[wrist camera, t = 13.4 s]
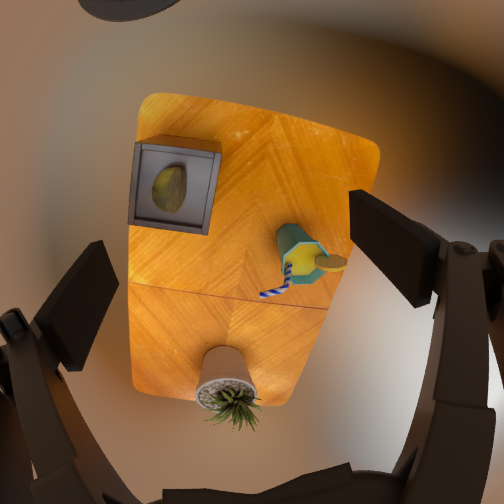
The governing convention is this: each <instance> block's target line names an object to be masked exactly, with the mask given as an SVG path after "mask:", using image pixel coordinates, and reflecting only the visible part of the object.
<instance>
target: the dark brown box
mask: <svg viewBox="0 0 504 504" xmlns="http://www.w3.org/2000/svg"><path fill="white" fill-rule="evenodd" d="M221 157H222V150H221V143H219V142H213V141H206V140H200V139H193V138H185V137H177V136H169V135H156V136H153V137H150V138H147V139H144V140H141V141H138V142H135V148H134V156H133V165H132V175H131V185H130V197H129V212H128V224H129V225H135V226H143V227H150V228H157V229H165V230H172V231H179V232H186V233H194V234H201V235H208V231H209V225H210V219H211V213H212V207H213V201H214V195H215V190H216V184H217V179H218V173H219V168H220V162H221ZM173 167H179V168H181V169H183V170H184V171H185V172H184V173H185V175H186V196H185V198H184V202H183V204H182V206H181V207H180V209H179V210H178V211H177V212H176V213H169V212H165V211H163V210H161V209H159V208H158V207H157V206H156V205H155V204H154V202H153V199H152V190H151V188H152V186H153V184H154V180H155V178H156V176H157V175H158V174H159V173H160V172H161V171H162V170H164V169H167V168H173Z"/></svg>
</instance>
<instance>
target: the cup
mask: <svg viewBox="0 0 504 504" xmlns="http://www.w3.org/2000/svg"><path fill="white" fill-rule="evenodd" d="M276 243H277V247H278V251H279V256H280V260H281V264H282V267H281V272H282V274H283V275H284V276H285V279H284V284H283V285H282V286H281V287H279V288H275V289H271V290H268V291H264V292H260V298H264V297H268V296H272V295H277V294H281V293H283V292H284V291H286V290H287V288H288V287H289V281H290V282H291V283H292V284H293V285H300V284H312V283H314V282H315V281H316V280H317V279H319V278H320V277H321V276H322V275H323V274H325V273H326V271H329V272H338V271H341V270H344V269H346V267H347V259H345V258H343V257H341V256H339V255H332V254H328V253H327V251H326V250H325V249H324V248H323V247H322V246H321V244H320V243H319V242H318V241H317V240H313V239H312V238H311V237H310V236H309V235H308V234H307V233H306V232H305V231H304V230H303V229H302V228H301V227H299V226H298V225H297V224H285V225H284V226H283V227H281V228H280V229H279V230H278V231H277V238H276Z"/></svg>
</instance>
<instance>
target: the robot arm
mask: <svg viewBox="0 0 504 504" xmlns="http://www.w3.org/2000/svg"><path fill="white" fill-rule="evenodd" d="M119 1H125V0H119ZM349 208H350V239H351V240H352V241H353V242H354V243H355V244H356V245H357V246H358V247H359V248H360V249H361V250H362V251H363V252H364V253H365V254H366V256H367V257H368V258H370V260H371V261H372V262H373V263H374V264H375V265H376V266H377V267H378V268H379V269H380V270H381V271H382V272H383V274H385V276H386V277H387V278H388V279H389V280H390V281H391V282H392V283H393V284H394V286H395V287H396V288H397V289H398V290H399V291H400V292H401V293H402V294H403V296H404V297H405V298H406V299H407V300H408V301H409V302H410V304H411V305H412V306H413V307H414V308H418V307H421V306H424V305H427V304H429V303H430V300H431V295H432V291H434V292H435V293H436V294H437V295H438V299H437V303H436V307H435V311H434V315H433V319H434V326H433V333H432V339H431V345H430V350H429V356H428V361H427V366H426V370H425V375H424V379H423V384H422V388H421V392H420V396H419V399H418V403H417V407H416V410H415V414H414V417H413V420H412V424H411V427H410V430H409V433H408V436H407V439H406V442H405V445H404V448H403V450H402V453H401V455H400V457H399V459H398V461H397V463H396V465H395V467H394V469H393V471H392V473H391V474H390V473H385V472H380V471H370V470H366V471H365V470H363V471H362V470H359V471H352V469H351V466H350V463H349V462H348V463H345V464H342V465H338V466H334V467H331V468H328V469H324V470H320V471H316V472H312V473H308V474H304V475H301V476H299V477H297V478H295V479H293V480H290V481H288V482H286V483H284V484H281V485H279V486H276V487H274V488H272V489H269V490H266V491H264V492H261V493H258V494H243V493H234V492H226V491H219V490H212V489H206V488H205V489H204V488H203V489H163V493H162V499H160V500H157V501H153V502H150V503H148V504H480V503H481V499H482V496H483V492H484V488H485V484H486V480H487V475H488V470H489V465H490V460H491V454H492V448H493V441H494V433H495V425H496V412H495V410H494V408H488V406H487V399H488V381H489V340H488V334H489V337H490V340H491V343H492V346H493V350H494V353H495V356H496V360H497V364H498V367H499V371H500V375H501V379H502V384H503V388H504V240H493V241H491V243H490V247H489V252H478V250H477V249H476V248H475V247H474V246H473V245H471V244H469V243H466V242H461V241H455V242H451V243H450V242H448V241H447V240H445V239H444V238H443V237H441V236H440V235H438V234H437V233H435V232H434V231H432V230H431V229H430V230H429V228H428V227H426V226H425V225H423V224H421V223H419V222H416V221H413V220H411V219H409V218H407V217H406V216H405V215H403V214H401V213H400V212H398V211H397V210H395V209H394V208H392V207H390V206H389V205H387V204H385V203H384V202H382V201H381V200H379V199H377V198H376V197H374V196H372V195H371V194H369V193H367V192H365V191H364V190H362V189H360V190H353V191H349ZM118 286H119V282H118V280H117V278H116V275H115V272H114V270H113V267H112V265H111V262H110V259H109V257H108V254H107V251H106V249H105V246H104V243H103V241H102V240H100V241H96V242H92V243H90V244H89V245H88V247H87V248H86V249H85V250H84V251H83V253H82V254H81V255H80V256H79V258H78V259H77V260H76V261H75V263H74V264H73V265H72V266H71V268H70V269H69V270H68V271H67V273H66V274H65V275H64V277H63V278H62V279H61V280H60V282H59V283H58V285H57V286H56V287H55V288H54V290H53V291H52V293H51V294H50V295H49V297H48V298H47V300H46V301H45V302H44V304H43V305H42V307H41V308H40V309H39V311H38V312H37V314H36V316H35V317H34V318H33V320H32V321H31V323H30V324H28V323H27V321H26V319H25V317H24V316H23V314H22V312H21V310H20V309H19V308H13V309H10V310H9V311H7V312H5V313H4V314H3V315H2V316H1V317H0V333H1V334H2V336H3V338H4V339H5V341H6V342H7V344H6V345H3V346H0V389H1V390H2V392H1V391H0V504H142V503H141V502H140V501H139V500H138V499H137V498H136V497H135V496H134V495H133V494H132V493H131V492H130V490H129V489H128V488H127V486H126V485H125V484H124V482H123V481H122V480H121V478H120V477H119V475H118V474H117V473H116V471H115V470H114V468H113V467H112V465H111V464H110V462H109V461H108V459H107V458H106V456H105V454H104V453H103V451H102V450H101V448H100V447H99V445H98V443H97V442H96V440H95V438H94V436H93V435H92V433H91V431H90V429H89V428H88V426H87V424H86V422H85V421H84V419H83V417H82V415H81V413H80V411H79V409H78V407H77V405H76V403H75V401H74V399H73V397H72V395H71V393H70V391H69V389H68V386H67V384H66V382H65V380H64V377H63V375H62V374H61V372H60V371H59V370H58V365H59V363H60V361H61V363H62V364H63V366H64V367H65V368H66V370H67V371H68V372H70V371H82V369H83V367H84V364H85V361H86V359H87V357H88V354H89V351H90V349H91V347H92V344H93V342H94V339H95V337H96V334H97V332H98V330H99V327H100V325H101V323H102V321H103V318H104V316H105V314H106V311H107V309H108V307H109V305H110V303H111V300H112V298H113V296H114V294H115V292H116V290H117V288H118ZM31 460H32V463H33V466H34V468H35V471H36V474H37V477H38V478H37V479H35V480H34V479H33V471H32V463H31Z"/></svg>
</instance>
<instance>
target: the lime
mask: <svg viewBox="0 0 504 504" xmlns="http://www.w3.org/2000/svg"><path fill="white" fill-rule="evenodd" d="M184 172H185V171H184V170H183V169H181V168H179V167H173V168H167V169H164V170H162V171H161V172H160V173H159V174H158V175H157V176H156V178H155V180H154V184H153V186H152V188H151V190H152V199H153V202H154V204H155V205H156V206H157V207H158V208H159V209H161V210H163V211H165V212H169V213H176V212H177V211H178V210H179V209H180V207H181V206H182V204H183V202H184V198H185V196H186V175H185V173H184Z"/></svg>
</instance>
